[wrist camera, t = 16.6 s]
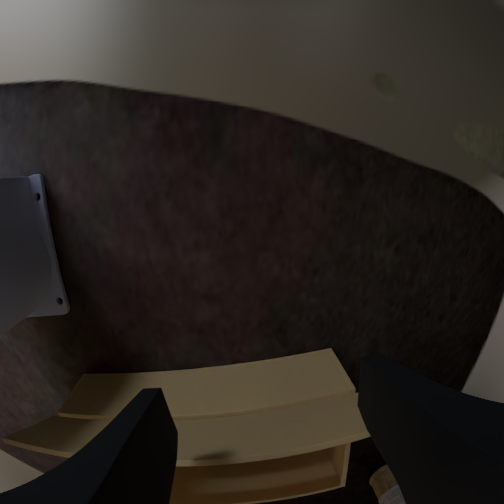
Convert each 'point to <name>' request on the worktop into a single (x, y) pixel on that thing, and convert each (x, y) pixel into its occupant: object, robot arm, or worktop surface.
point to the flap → (221, 433)
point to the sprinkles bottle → (386, 487)
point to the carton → (233, 404)
